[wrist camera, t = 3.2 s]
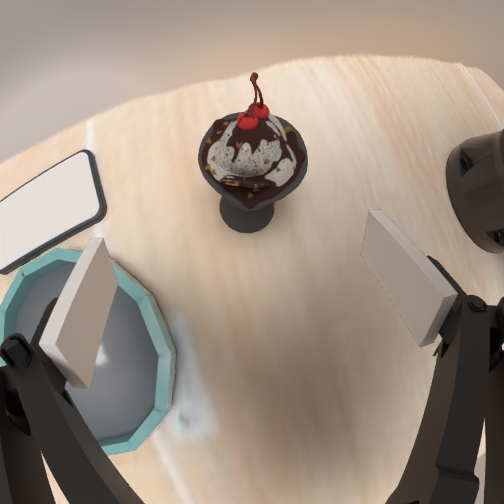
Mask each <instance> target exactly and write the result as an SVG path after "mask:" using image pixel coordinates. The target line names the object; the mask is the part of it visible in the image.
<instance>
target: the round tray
mask: <svg viewBox="0 0 504 504" xmlns="http://www.w3.org/2000/svg"><path fill="white" fill-rule="evenodd" d="M81 254H82V252H80V251H74V250H68V249H62V248H56V249H54V250H52V251H50V252H49V253H47V254H45V255H43V256H41V257H39V258H38V259H36V260H34V261H32V262H30V263H29V264H27V265H25V266H23V267H22V268H21V269H20V270H19V271H18V273H17V275H16V277H15V279H14V280H13V282H12V284H11V286H10V288H9V290H8V291H7V293H6V295H5V297H4V299H3V301H2V303H1V305H0V346H1V344H2V342H3V341H4V340H5V339H6V338H7V337H8V336H10V335H12V334H14V333H20V334H23V336H24V337H25V339H26V340H27V341H28V343H29V344H30V342H31V340H32V337H33V335H34V333H35V331H36V328H37V326H38V324H40V323H39V322H40V320H41V317H43V313H44V311H45V309H46V307H47V305H48V304H49V303H50V302H51V301H52V300H53V299H54V298H59V297H60V294H61V292H62V290H63V288H64V286H65V284H66V282H67V280H68V278H69V277H70V275H71V273H72V271H73V269H74V267H75V265H76V263H77V261H78V260H79V258H80V256H81ZM110 259H111V258H110ZM111 262H112V264H113V267H114V270H115V273H116V275H117V278H118V281H119V283H118V286H117V289H116V292H115V295H114V298H113V301H112V305H111V308H110V311H109V314H108V318H107V321H106V325H105V328H104V332H103V335H102V339H101V343H100V346H99V350H98V354H97V358H96V362H95V366H94V371H93V375H92V379H91V384H90V388H89V389H76V388H73V387H72V386H71V385H70V384H69V382H68V381H66V385H65V389H66V390H67V391H68V392H69V394H70V396H71V398H72V400H73V402H74V404H75V405H76V407H77V409H78V411H79V412H80V414H81V416H82V418H83V419H84V421H85V423H86V424H87V426H88V428H89V429H90V431H91V432H92V434H93V436H94V437H95V439H96V440H97V442H98V443H99V445H100V446H101V448H102V449H103V451H104V452H105V454H106V455H107V456H108V455H114V454H119V453H124V452H129V451H134V450H136V449H137V448H138V447H139V446H140V445H141V443H142V442H143V441H144V440H145V439H146V438H147V436H148V435H149V434H150V433H151V432H152V430H153V429H154V428H155V427H156V426H157V424H158V423H159V422H160V421H161V419H162V418H163V417H164V416H165V415H166V413H167V412H168V410H169V409H170V407H171V403H172V393H173V390H174V384H175V378H176V359H175V358H176V352H175V351H176V350H175V348H174V345H173V340H172V336H171V333H170V330H169V327H168V324H167V322H166V320H165V318H164V315H163V313H162V311H161V309H160V308H159V306H158V304H157V303H156V301H155V298H154V296H153V295H152V294H151V293H150V292H149V291H148V290H147V289H146V288H145V287H144V286H143V285H142V284H141V283H140V282H139V281H138V280H137V279H136V278H135V277H134V276H132V275H131V274H130V273H129V272H127V271H126V270H124V269H123V268H122V267H121V266H120V265H118V264H117V263H116V262H115V261H114V260H113V259H111ZM0 365H1V366H5V365H7V364H6V363H5V362H4V360H3V359H2V358H1V357H0Z"/></svg>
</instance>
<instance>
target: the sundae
mask: <svg viewBox="0 0 504 504" xmlns="http://www.w3.org/2000/svg"><path fill="white" fill-rule="evenodd" d="M257 78H258V74H257V73H255V72H254V73H252V75H251V77H250V81H251V82H252V84H253V86H254V90H255V98H254V102H253V103H252V104H251V105H250V106H249V108H248V110H246V111H245V112H239V113H234V114H230V115H227V116H225V117H223V118H221V119H218V120H216V121H215V122H214V123H213V125H212V126H211V127H210V129H209V130H208V131H207V133H206V134H205V136H204V138H203V139H202V142H201V145H200V148H199V154H198V163H199V166H200V169H201V172H202V174H203V176H204V178H205V179H206V180H207V182H208V183H209V184H210V185H211V186H212V187H213V188H214V189H215V190H216V191H217V192H218V193H219V194H221V195H222V198H221V202H220V213H221V216H222V218H223V220H224V221H225V223H226V224H227V225H228V226H229V227H230V228H232V229H234V230H236V231H238V232H242V233H252V232H256V231H259V230H261V229H263V228H264V227H265V226H266V225H267V224H268V223H269V222H270V220H271V218H272V216H273V213H274V203H273V202H275V201H278V200H280V199H282V198H284V197H285V196H287V195H288V194H289V193H291V192H292V191H293V190H294V189H295V188H297V187H298V186H299V184H300V183H301V181H302V180H303V178H304V176H305V174H306V172H307V166H308V157H307V150H306V147H305V144H304V141H303V139H302V137H301V135H300V133H299V132H298V131H297V130H296V129H295V128H294V127H293V126H292V125H291V124H290V123H288V122H287V121H286V120H284V119H282V118H279V117H277V116H274V115H272V114H270V112H269V109H268V107H267V106H266V105H265V104H263V97H262V94H261V91H260V89H259V87H258V85H257V84H256V80H257ZM256 88H257V89H256ZM257 90H258V93H259V98H260V102H256V101H257Z"/></svg>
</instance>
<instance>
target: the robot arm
mask: <svg viewBox="0 0 504 504" xmlns="http://www.w3.org/2000/svg"><path fill="white" fill-rule="evenodd" d="M447 184H448V190H449V194H450V198H451V201H452V204H453V207H454V209H455V212H456V214H457V216H458V218H459V220H460V222H461V224H462V226H463V227H464V229H465V230H466V232H467V233H468V235H469V236H470V237H471V238H472V240H473V241H474V242H475V243H476V244H477V245H478V246H480V247H481V248H483V249H484V250H486V251H488V252H491V253H500V252H504V129H503V130H502V131H500V132H497V133H492V134H487V135H483V136H479V137H474V138H470V139H467V140H465V141H464V142H462V143H461V144H460V145H459V146H457V147H456V148H455V149H454V150H453V151H452V152H451V154H450V156H449V159H448V163H447ZM361 256H362V258H363V259H364V261H365V262H366V264H367V265H368V267H369V268H370V269H371V271H372V272H373V274H374V275H375V277H376V278H377V280H378V281H379V283H380V284H381V286H382V287H383V289H384V290H385V292H386V294H387V295H388V297H389V298H390V300H391V301H392V303H393V304H394V306H395V308H396V309H397V311H398V312H399V314H400V316H401V317H402V319H403V320H404V322H405V324H406V325H407V327H408V329H409V330H410V332H411V334H412V335H413V337H414V339H415V340H416V342H417V344H418V346H419V347H422V346H425V345H428V344H431V343H433V342H434V340H435V339H436V337H437V335H438V333H439V334H440V336H441V337H442V340H441V342H440V344H439V345H438V347H437V349H436V350H435V352H434V354H433V356H436V354H437V353H438V356H437V361H436V366H435V371H434V375H433V380H432V384H431V388H430V392H429V396H428V400H427V404H426V408H425V411H424V415H423V418H422V422H421V425H420V428H419V431H418V434H417V437H416V440H415V443H414V446H413V449H412V452H411V455H410V457H409V460H408V463H407V465H406V468H405V470H404V473H403V475H402V478H401V480H400V482H399V484H398V486H397V488H396V489H395V491H394V492H393V493H392V494H391V495H390V497H389V498H388V500H387V501H386V503H385V504H474V503H475V499H476V496H477V493H478V490H479V478H478V477H476V476H475V475H474V468H475V464H476V460H477V455H478V451H479V446H480V441H481V435H482V430H483V424H484V417H485V436H486V469H485V487H484V504H504V351H503V350H502V345H503V343H504V297H502V298H501V299H500V301H499V303H498V305H497V306H492V305H487V304H486V303H485V301H483V300H482V299H481V298H479V297H477V296H474V295H466V293H465V292H464V291H463V290H462V288H461V287H460V286H459V285H458V284H457V283H456V281H455V280H454V279H453V278H452V277H451V276H450V274H449V273H448V272H447V271H446V270H444V268H443V266H442V265H441V264H440V263H439V262H438V261H437V260H435V259H433V258H432V257H430V256H425V255H424V253H423V252H422V251H421V250H420V249H419V248H418V247H417V246H416V245H415V244H414V243H413V242H412V241H411V239H410V238H409V237H408V236H407V235H406V234H405V233H404V232H403V231H402V230H401V229H400V228H399V227H398V226H397V225H396V224H395V223H394V222H393V221H392V220H391V219H390V218H389V217H388V216H387V215H386V214H385V213H384V212H383V211H382V210H368V216H367V223H366V229H365V235H364V241H363V246H362V252H361ZM118 283H119V281H118V278H117V275H116V273H115V270H114V267H113V264H112V262H111V259H110V256H109V253H108V250H107V247H106V244H105V241H104V238H96V239H90V240H89V242H88V244H87V245H86V247H85V249H84V251H83V252H82V254H81V256H80V258H79V260H78V261H77V263H76V265H75V267H74V269H73V271H72V273H71V275H70V277H69V278H68V280H67V282H66V284H65V286H64V288H63V290H62V292H61V294H60V297H59V298H54V299H53V300H52V301H51V302H50V303H49V304H48V305H47V307H46V309H45V311H44V313H43V317H41V320H40V322H39V323H40V324H38V326H37V328H36V331H35V333H34V335H33V337H32V340H31V342H30V344H29V343H28V341H27V340H26V339H25V337H24V336H23V334H20V333H14V334H12V335H10V336H8V337H7V338H6V339H5V340H4V341H3V342H2V344H1V346H0V357H1V358H2V359H3V360H4V362H5V363H6V364H7V365H5V366H1V367H0V504H56V503H55V500H54V497H53V494H52V491H51V488H50V484H49V481H48V478H47V474H46V470H45V467H44V463H43V459H42V455H41V452H42V454H43V456H44V458H45V460H46V463H47V465H48V466H49V468H50V470H51V472H52V474H53V476H54V478H55V480H56V482H57V483H58V485H59V487H60V489H61V490H62V492H63V494H64V495H65V497H66V499H67V500H68V502H69V504H145V503H144V502H143V501H142V500H141V499H140V498H139V496H138V495H137V494H136V493H135V492H134V490H133V489H132V488H131V487H130V486H129V484H128V483H127V482H126V481H125V479H124V478H123V477H122V475H121V474H120V473H119V471H118V470H117V469H116V467H115V466H114V465H113V463H112V462H111V461H110V459H109V458H108V456H107V455H106V454H105V452H104V451H103V449H102V448H101V446H100V445H99V443H98V442H97V440H96V439H95V437H94V436H93V434H92V432H91V431H90V429H89V428H88V426H87V424H86V423H85V421H84V419H83V418H82V416H81V414H80V412H79V411H78V409H77V407H76V405H75V404H74V402H73V400H72V398H71V396H70V394H69V392H68V391H67V390H66V389H65V385H66V381H68V382H69V384H70V385H71V386H72V387H73V388H76V389H89V388H90V384H91V379H92V375H93V371H94V366H95V362H96V358H97V354H98V350H99V346H100V343H101V339H102V335H103V332H104V328H105V325H106V321H107V318H108V314H109V311H110V308H111V305H112V301H113V298H114V295H115V292H116V289H117V286H118Z"/></svg>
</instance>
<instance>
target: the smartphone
mask: <svg viewBox="0 0 504 504" xmlns="http://www.w3.org/2000/svg"><path fill="white" fill-rule="evenodd" d="M106 212H107V205H106V201H105V197H104V194H103V190H102V186H101V182H100V178H99V174H98V170H97V166H96V161H95V157H94V155H93V154H92V153H91V152H90V151H89V150H81V151H79V152H77V153H75V154H73V155H71V156H70V157H68V158H66V159H64V160H63V161H61V162H59V163H57V164H56V165H54V166H52V167H51V168H49V169H47V170H46V171H44V172H42V173H41V174H39V175H38V176H36V177H34V178H33V179H31V180H30V181H28V182H27V183H25V184H24V185H22V186H21V187H19V188H18V189H16V190H15V191H13V192H12V193H11V194H9V195H8V196H6V197H5V198H4V199H2V200H1V201H0V274H4V275H6V274H8V273H10V272H11V271H13V270H15V269H16V268H18V267H20V266H21V265H23V264H25V263H26V262H28V261H30V260H31V259H33V258H35V257H37V256H38V255H40V254H41V253H43V252H45V251H47V250H48V249H50V248H52V247H54V246H55V245H57V244H59V243H61V242H63V241H64V240H66V239H68V238H70V237H72V236H74V235H75V234H77V233H79V232H81V231H83V230H85V229H87V228H89V227H90V226H92V225H94V224H96V223H98V222H100V221H101V220H102V219H103V218H104V217H105V215H106Z"/></svg>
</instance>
